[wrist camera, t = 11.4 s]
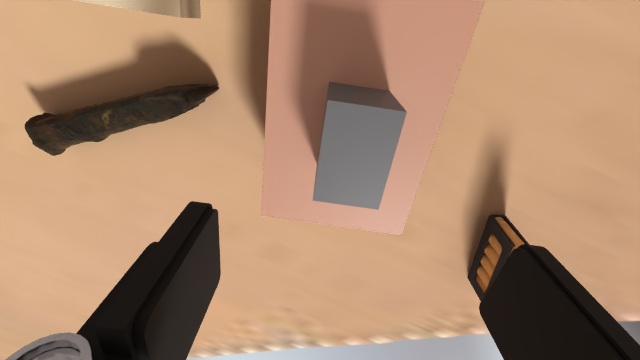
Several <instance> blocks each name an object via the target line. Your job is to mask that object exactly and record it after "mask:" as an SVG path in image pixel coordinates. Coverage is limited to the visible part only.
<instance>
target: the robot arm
mask: <svg viewBox="0 0 640 360" xmlns="http://www.w3.org/2000/svg"><path fill="white" fill-rule="evenodd" d="M220 272H221V271H220V248H219V225H218V211H217V210H216V209H212V205H211V204H209V203H201V202H193V201H192V202H190V203H189V204H188V205H187V206H186V207H185V209H184V210H183V211H182V213H181V214H180V215H179V216H178V218H177V219H176V220H175V222H174V223H173V224H172V225H171V227H170V228H169V229H168V230H167V232H166V233H165V234H164V236H163V237H162V238H161V239H160V241H159V242H153V243H151V244H150V245H149V246H148V247H147V248H146V249H145V250H144V251H143V253H142V254H141V255H140V256H139V257H138V259H137V260H136V261H135V262H134V264H133V265H132V266H131V267H130V269H129V270H128V271H127V272H126V273H125V275H124V276H123V277H122V278H121V280H120V281H119V282H118V283H117V284H116V286H115V287H114V288H113V289H112V291H111V292H110V293H109V294H108V296H107V297H106V298H105V299H104V300H103V302H102V303H101V304H100V305H99V307H98V308H97V309H96V310H95V311H94V313H93V314H92V315H91V316H90V318H89V319H88V320H87V321H86V323H85V324H84V325H83V326H82V327H81V329H80V330H79V331H78V332H77V334H74V333H59V334H53V335H50V336H47V337H43V338H40V339H38V340H36V341H34V342H32V343H30V344H28V345H26V346H24V347H23V348H21V349H20V350H18V351H17V352H15V353H14V354H12V355H11V356H10V357H8V358H7V359H6V360H186V358H187V356H188V353H189V351H190V349H191V346H192V344H193V342H194V339H195V337H196V335H197V332H198V330H199V328H200V325H201V323H202V321H203V318H204V316H205V314H206V311H207V309H208V307H209V304H210V302H211V299H212V297H213V295H214V292H215V290H216V288H217V285H218V283H219V279H220ZM479 310H480V314H481V316H482V318H483V320H484V322H485V324H486V326H487V328H488V330H489V332H490V334H491V336H492V338H493V339H494V341H495V343H496V345H497V347H498V349H499V351H500V353H501V355H502V357H503V359H504V360H640V345H639V344H638V343H637V342H636V341H635V340H634V339H633V338H632V337H631V336H630V335H629V334H628V333H627V332H626V331H625V330H624V328H623V327H622V326H621V325H620V324H619V323H618V322H617V321H616V320H615V319H614V318H613V317H612V316H611V315H610V314H609V313H608V312H607V311H606V310H605V309H604V308H603V307H602V306H601V305H600V304H599V303H598V302H597V301H596V299H595V298H594V297H593V296H592V295H591V294H590V293H589V292H588V291H587V290H586V289H585V288H584V287H583V286H582V285H581V284H580V283H579V282H578V281H577V280H576V279H575V278H574V277H573V276H572V275H571V274H570V273H569V272H568V271H567V269H566V268H565V267H564V266H563V265H562V264H561V263H560V262H559V261H558V260H557V259H556V258H555V257H554V256H553V255H552V254H551V253H550V252H549V251H548V250H547V249H546V248H544V247H541V246H534V245H526V244H523V245H520V246H519V247H518V248H516V249H514V250H513V251H512V253H511V254H510V256H509V257H508V259H507V261H506V262H505V264H504V266H503V267H502V269H501V270H500V272H499V274H498V275H497V277H496V278H495V280H494V282H493V283H492V285H491V287H490V288H489V290H488V291H487V293H486V295H485V296H484V298H483V299H482V301H481V303H480V306H479Z"/></svg>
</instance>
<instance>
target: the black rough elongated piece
mask: <svg viewBox="0 0 640 360" xmlns="http://www.w3.org/2000/svg"><path fill="white" fill-rule="evenodd" d="M218 89H219V87H217V86H216V85H208V84H203V85H201V84H196V85H195V84H189V85H182V86H169V87H166V88H163V89H160V90H156V91H152V92H148V93H144V94H140V95H135V96H131V97H127V98H123V99H119V100H115V101H111V102H108V103H104V104H100V105H94V106H88V107H84V108H82V109H79V110H74V111H72V112H70V113H65V114H60V115H52V114H50V113H44V114H43V115H37V116H34V117H32V118H30V119H29V120H28V121H27V122H26V124H25V129H26V131H27V133H28V135H29V137H30V138H31V140H32V141H33V144H34V145H35V146H36V147H38V148H40V149H42V150H44V151H45V152H47V153H49V154H50V155H53V156H56V155H59V154H61V153H63V152H64V151H65V149H66V148H68V147H70V146H72V145H76V144H79V143H83V142H90V141H93V142H100V141H102V140H104V139H106V138H107V137H108V136H109V135H111V134H114V133H118V132H122V131H125V130H128V129H132V128H135V127H138V126H142V125H146V124H150V123H151V124H152V123H157V122H162V121H166V120H168V119H172V118H174V117H176V116H179V115H181V114H183V113H185V112H187V111H189V110H191V109H193V108H195V107H197V106H199V104H201V103H203V102H204V101H205V99H206V98H207V97H208V96H210V95H211V94H213V93H214V92H216V91H217V90H218Z"/></svg>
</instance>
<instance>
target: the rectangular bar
mask: <svg viewBox="0 0 640 360" xmlns="http://www.w3.org/2000/svg"><path fill="white" fill-rule="evenodd" d="M73 1H79V2H86V3H92V4H98V5H105V6H111V7H118V8H124V9H130V10H137V11H143V12H150V13H156V14H162V15H169V16H175V17H183V18H201V13H200V0H73Z"/></svg>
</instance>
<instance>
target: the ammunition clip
mask: <svg viewBox="0 0 640 360" xmlns="http://www.w3.org/2000/svg"><path fill="white" fill-rule="evenodd" d="M523 244H526V245H529V244H528V242H527V241H526V240H525V239H524V238H523V236H522V235H521V234H520V233H519V231H518V230H517V229H516V228H515V227H514V225H513V224H512V223H511V222H510V221H509V219H508V218H507V217H506V216H502V215H491V216H489V218H488V221H487V224H486V227H485V229H484V232H483V235H482V238H481V241H480V244H479V247H478V250H477V252H476V255H475V258H474V261H473V264H472V267H471V270H470V272H469V275H468V279H469V281H470V283H471V285H472V286H473V288H474V290H475V292H476V294H477V295H478V297H479V299H480V301H482V299H483V298H484V296H485V295H486V293H487V291H488V290H489V288H490V287H491V285H492V283H493V282H494V280H495V278H496V277H497V275H498V274H499V272H500V270H501V269H502V267H503V266H504V264H505V262H506V261H507V259H508V257H509V256H510V254H511V253H512V251H513V250H514V249H516V248H518V247H519V246H520V245H523Z"/></svg>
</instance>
